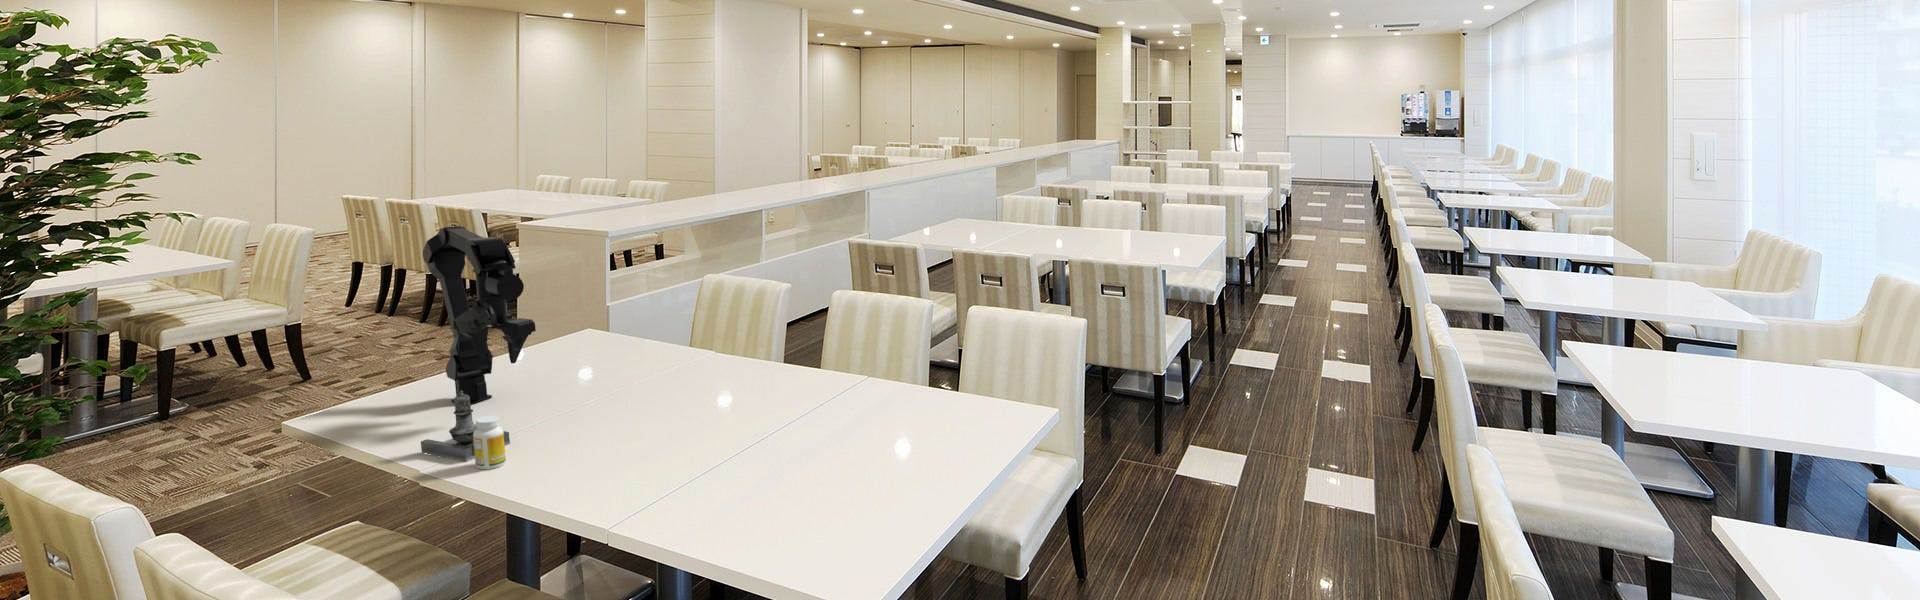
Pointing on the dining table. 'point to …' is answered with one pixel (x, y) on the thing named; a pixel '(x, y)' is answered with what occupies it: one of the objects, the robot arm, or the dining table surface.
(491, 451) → the supplement bottle
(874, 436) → the dining table surface
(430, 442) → the floor track
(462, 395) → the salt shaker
